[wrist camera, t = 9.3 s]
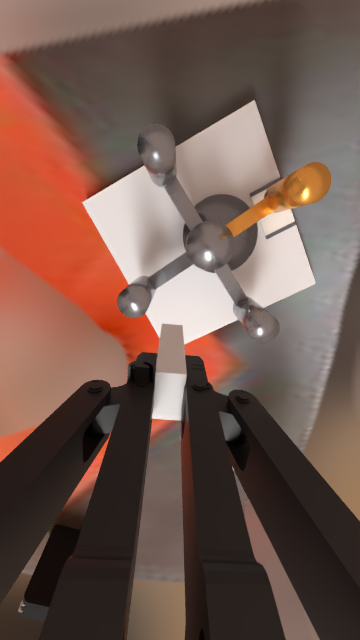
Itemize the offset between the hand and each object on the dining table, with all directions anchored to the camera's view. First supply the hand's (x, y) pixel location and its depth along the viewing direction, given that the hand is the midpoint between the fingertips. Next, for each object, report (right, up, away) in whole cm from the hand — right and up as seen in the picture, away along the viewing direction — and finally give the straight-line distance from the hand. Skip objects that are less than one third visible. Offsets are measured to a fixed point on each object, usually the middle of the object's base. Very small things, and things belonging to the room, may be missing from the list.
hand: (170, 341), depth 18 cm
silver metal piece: (+4, +10, +10) cm, 14 cm away
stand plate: (+4, +11, +11) cm, 16 cm away
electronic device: (-18, -39, +28) cm, 51 cm away
